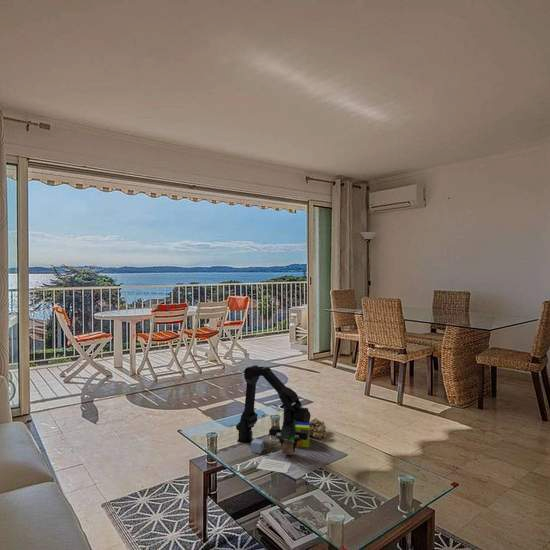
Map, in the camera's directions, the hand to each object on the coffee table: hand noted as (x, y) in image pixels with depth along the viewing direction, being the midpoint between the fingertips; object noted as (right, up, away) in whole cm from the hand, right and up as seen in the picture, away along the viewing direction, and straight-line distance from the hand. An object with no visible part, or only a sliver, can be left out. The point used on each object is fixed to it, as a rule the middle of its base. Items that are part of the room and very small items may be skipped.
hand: (288, 450), depth 196 cm
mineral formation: (+16, -3, +25) cm, 30 cm away
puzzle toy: (+6, -3, +15) cm, 16 cm away
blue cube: (-15, -2, +4) cm, 16 cm away
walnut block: (0, -1, 0) cm, 1 cm away
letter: (-7, -3, -11) cm, 13 cm away
